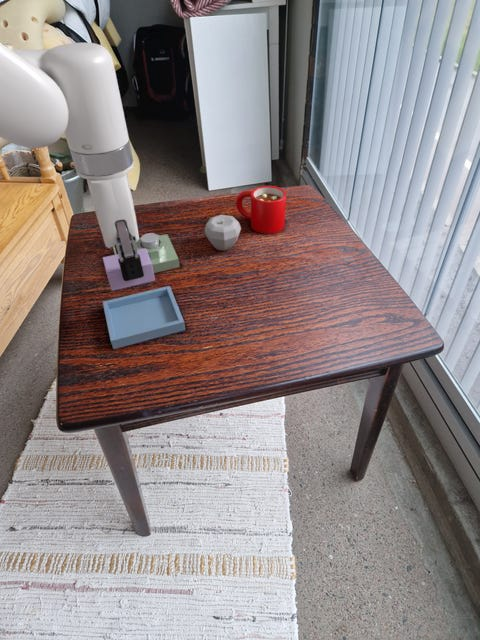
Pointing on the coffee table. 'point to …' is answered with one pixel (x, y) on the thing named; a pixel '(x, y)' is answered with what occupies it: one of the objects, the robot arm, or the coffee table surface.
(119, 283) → the soap bar
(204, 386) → the coffee table surface
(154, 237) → the grey push button
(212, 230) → the apple
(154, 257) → the green push button box
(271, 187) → the mug
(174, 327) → the soap dish
